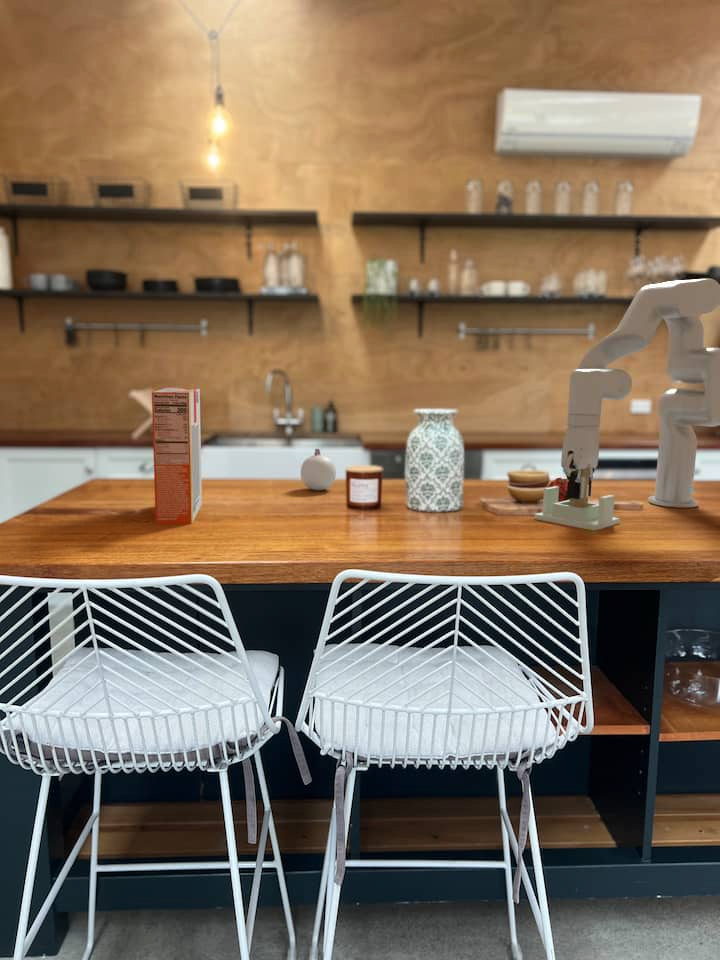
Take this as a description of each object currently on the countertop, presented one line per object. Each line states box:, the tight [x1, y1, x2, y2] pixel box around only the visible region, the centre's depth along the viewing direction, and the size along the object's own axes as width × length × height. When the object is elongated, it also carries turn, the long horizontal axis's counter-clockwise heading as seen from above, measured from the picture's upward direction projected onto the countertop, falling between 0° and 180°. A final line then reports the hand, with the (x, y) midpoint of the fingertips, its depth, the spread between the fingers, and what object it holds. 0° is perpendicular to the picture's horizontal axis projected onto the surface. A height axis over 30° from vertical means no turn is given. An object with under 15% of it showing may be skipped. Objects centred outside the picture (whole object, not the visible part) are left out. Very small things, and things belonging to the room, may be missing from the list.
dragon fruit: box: [546, 477, 570, 502], centre depth 192 cm, size 8×8×12 cm
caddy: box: [534, 486, 620, 532], centre depth 176 cm, size 12×16×7 cm
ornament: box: [300, 448, 337, 491], centre depth 211 cm, size 10×10×12 cm
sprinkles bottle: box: [569, 460, 591, 508], centre depth 175 cm, size 5×5×13 cm
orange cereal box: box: [151, 387, 203, 525], centre depth 175 cm, size 23×8×30 cm, turn 6°
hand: (578, 496), depth 176 cm, fingers closed on sprinkles bottle, 4 cm apart
